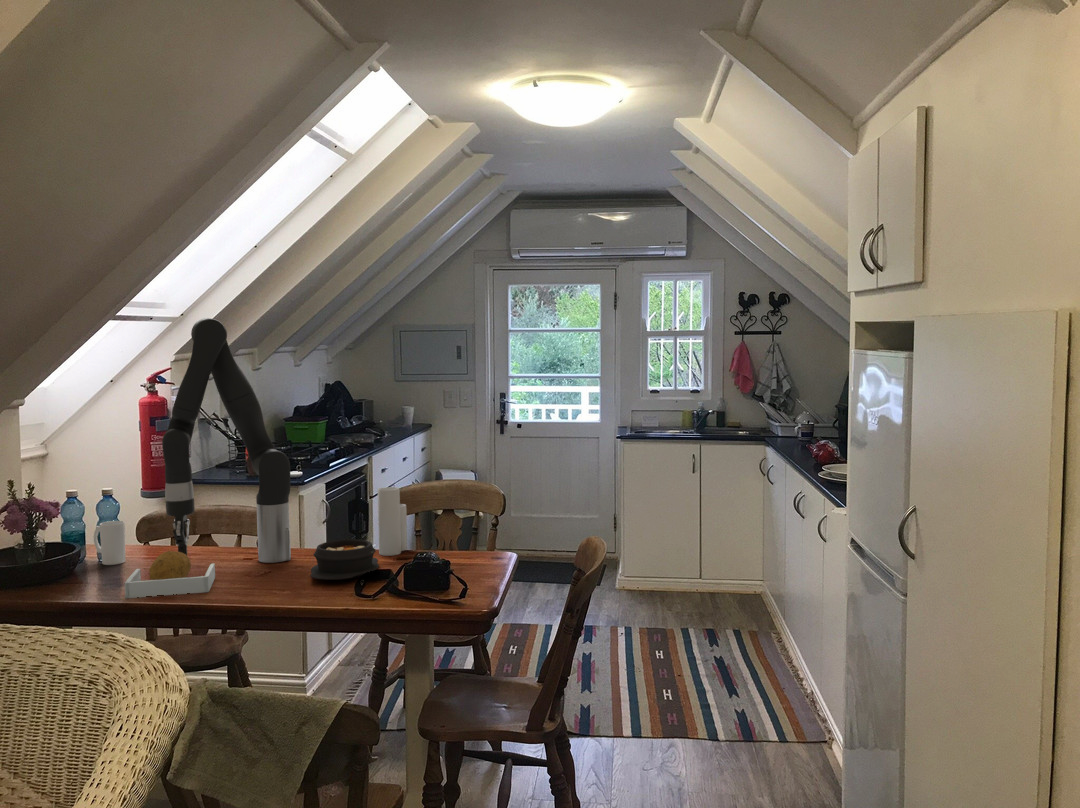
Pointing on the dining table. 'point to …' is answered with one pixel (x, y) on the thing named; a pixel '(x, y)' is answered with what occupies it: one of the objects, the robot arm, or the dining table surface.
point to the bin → (168, 585)
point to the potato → (170, 566)
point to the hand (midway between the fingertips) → (183, 557)
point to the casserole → (344, 559)
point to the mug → (111, 542)
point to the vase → (391, 522)
